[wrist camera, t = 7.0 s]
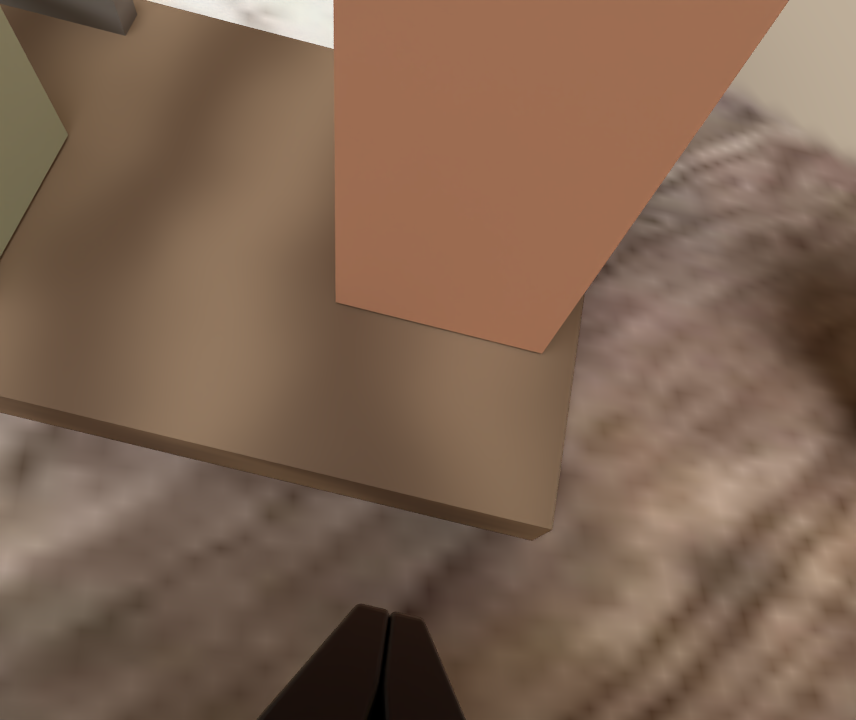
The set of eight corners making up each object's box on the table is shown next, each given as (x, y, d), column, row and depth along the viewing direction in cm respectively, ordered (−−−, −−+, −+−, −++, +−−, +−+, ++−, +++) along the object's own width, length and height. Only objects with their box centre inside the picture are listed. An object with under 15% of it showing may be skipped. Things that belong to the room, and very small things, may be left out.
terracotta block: (542, 353, 19) (812, -35, 8) (335, 301, 19) (332, -163, 8) (568, 186, 22) (806, -286, 11) (385, 139, 22) (435, -389, 11)
